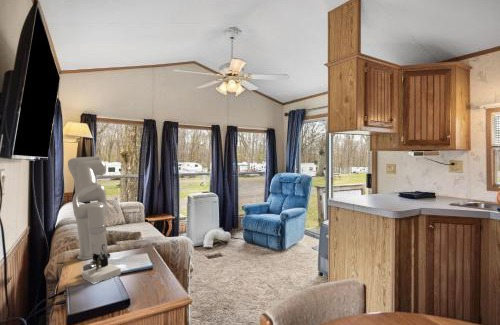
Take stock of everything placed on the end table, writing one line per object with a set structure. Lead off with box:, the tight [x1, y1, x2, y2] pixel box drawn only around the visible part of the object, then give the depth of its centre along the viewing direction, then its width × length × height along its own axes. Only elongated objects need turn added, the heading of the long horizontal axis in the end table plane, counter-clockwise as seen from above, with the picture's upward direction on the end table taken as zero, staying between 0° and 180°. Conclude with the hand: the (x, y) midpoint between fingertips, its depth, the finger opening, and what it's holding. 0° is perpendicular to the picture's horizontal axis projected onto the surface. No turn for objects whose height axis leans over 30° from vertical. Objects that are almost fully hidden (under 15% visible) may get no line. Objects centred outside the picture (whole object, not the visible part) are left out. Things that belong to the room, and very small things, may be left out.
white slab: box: [81, 262, 122, 283], centre depth 147 cm, size 13×13×3 cm
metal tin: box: [82, 263, 95, 272], centre depth 152 cm, size 5×5×4 cm
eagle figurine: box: [89, 252, 111, 271], centre depth 148 cm, size 8×7×9 cm
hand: (100, 264), depth 147 cm, fingers closed on eagle figurine, 8 cm apart
